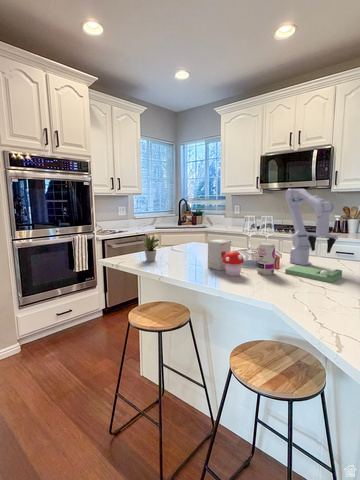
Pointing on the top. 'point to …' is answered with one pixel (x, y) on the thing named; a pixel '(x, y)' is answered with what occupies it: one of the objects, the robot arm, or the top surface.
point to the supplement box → (217, 253)
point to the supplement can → (266, 258)
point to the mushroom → (233, 263)
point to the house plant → (150, 248)
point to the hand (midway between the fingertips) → (320, 251)
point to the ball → (324, 272)
